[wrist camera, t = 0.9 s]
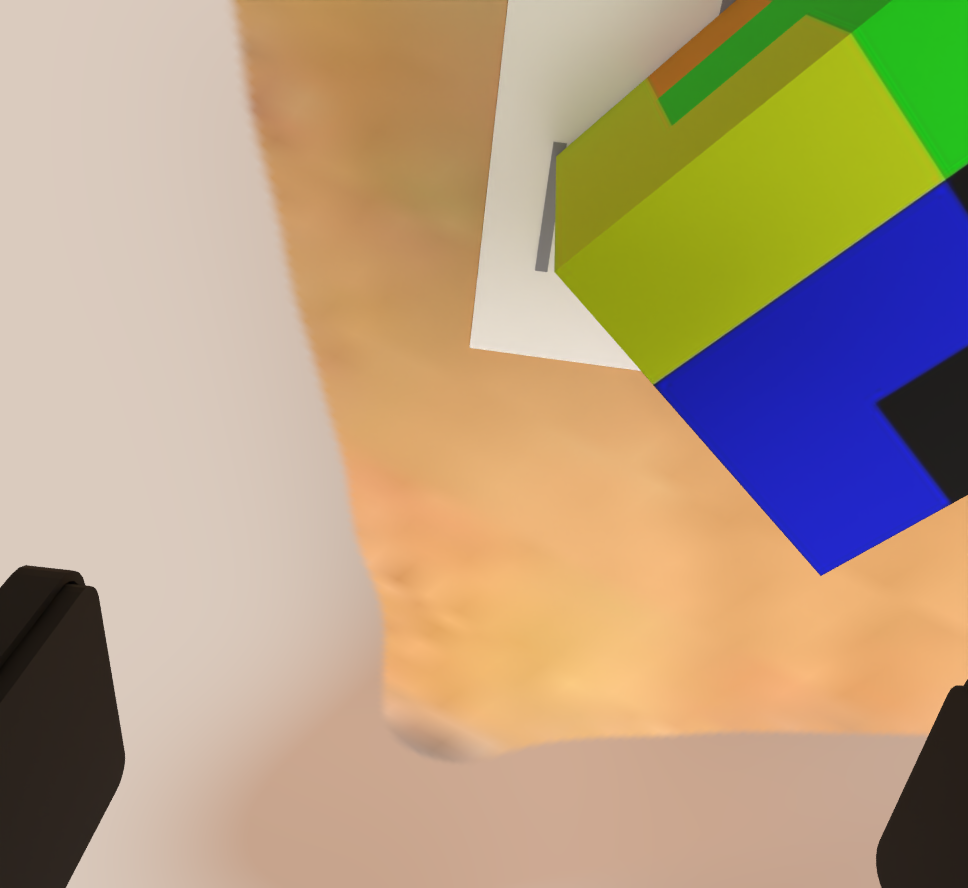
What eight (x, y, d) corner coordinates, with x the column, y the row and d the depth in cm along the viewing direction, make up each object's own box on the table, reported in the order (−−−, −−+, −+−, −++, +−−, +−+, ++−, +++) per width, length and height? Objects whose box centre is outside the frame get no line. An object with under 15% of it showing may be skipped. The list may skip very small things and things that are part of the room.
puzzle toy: (746, 386, 30) (820, 576, 22) (556, 156, 27) (554, 271, 18) (1038, 191, 26) (1272, 327, 18) (859, -107, 23) (1039, -119, 14)
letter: (560, -464, 20) (560, -465, 20) (1138, -393, 20) (1143, -395, 20) (469, 346, 30) (469, 348, 30) (853, 398, 30) (854, 400, 30)
